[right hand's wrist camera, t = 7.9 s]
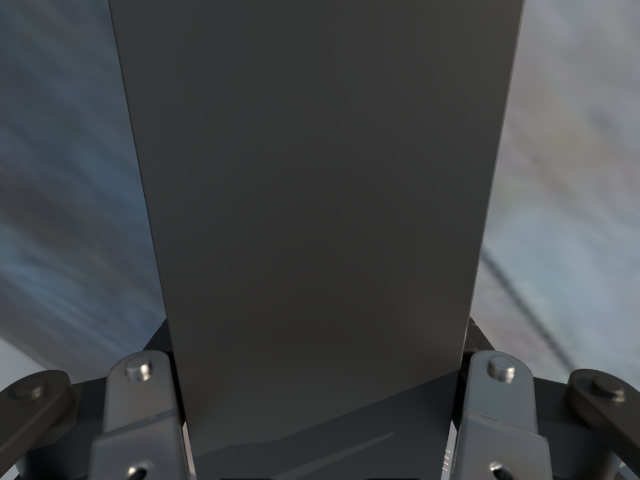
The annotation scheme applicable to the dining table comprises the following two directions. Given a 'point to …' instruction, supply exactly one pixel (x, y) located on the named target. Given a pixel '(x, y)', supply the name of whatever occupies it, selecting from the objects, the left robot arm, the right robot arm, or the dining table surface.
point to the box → (317, 218)
